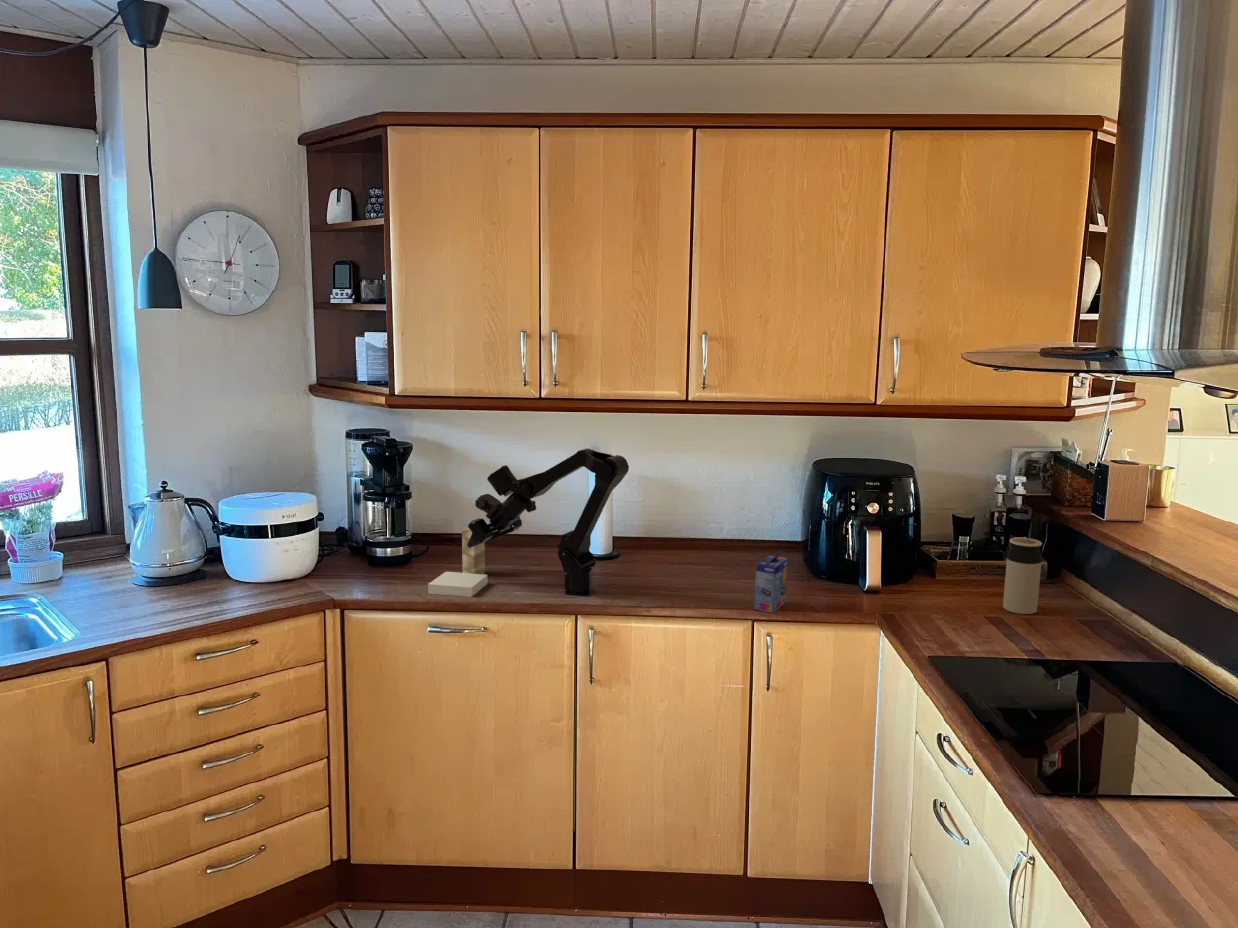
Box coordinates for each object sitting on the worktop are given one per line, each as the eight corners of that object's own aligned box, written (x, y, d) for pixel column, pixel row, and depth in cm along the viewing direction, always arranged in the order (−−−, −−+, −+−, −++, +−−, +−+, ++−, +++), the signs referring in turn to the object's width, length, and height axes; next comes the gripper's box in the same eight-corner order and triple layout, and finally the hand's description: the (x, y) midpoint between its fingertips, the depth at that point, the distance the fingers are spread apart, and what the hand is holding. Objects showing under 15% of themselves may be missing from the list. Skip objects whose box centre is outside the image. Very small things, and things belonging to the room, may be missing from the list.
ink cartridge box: (774, 614, 227) (776, 557, 225) (753, 610, 230) (755, 554, 228) (786, 603, 236) (789, 548, 234) (766, 599, 239) (768, 545, 236)
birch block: (484, 572, 260) (484, 527, 258) (474, 576, 255) (473, 531, 253) (473, 570, 262) (472, 526, 259) (462, 574, 257) (461, 529, 255)
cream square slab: (487, 585, 249) (487, 574, 249) (471, 598, 238) (471, 587, 237) (446, 582, 252) (445, 571, 251) (428, 595, 240) (428, 584, 240)
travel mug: (1025, 617, 227) (1032, 546, 224) (996, 608, 234) (1002, 539, 231) (1043, 611, 232) (1049, 542, 229) (1013, 603, 238) (1019, 535, 235)
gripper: (513, 480, 259) (481, 514, 266) (473, 491, 243) (440, 527, 250) (536, 511, 257) (503, 544, 264) (498, 524, 241) (464, 559, 247)
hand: (478, 542), depth 256 cm, fingers open, 9 cm apart
